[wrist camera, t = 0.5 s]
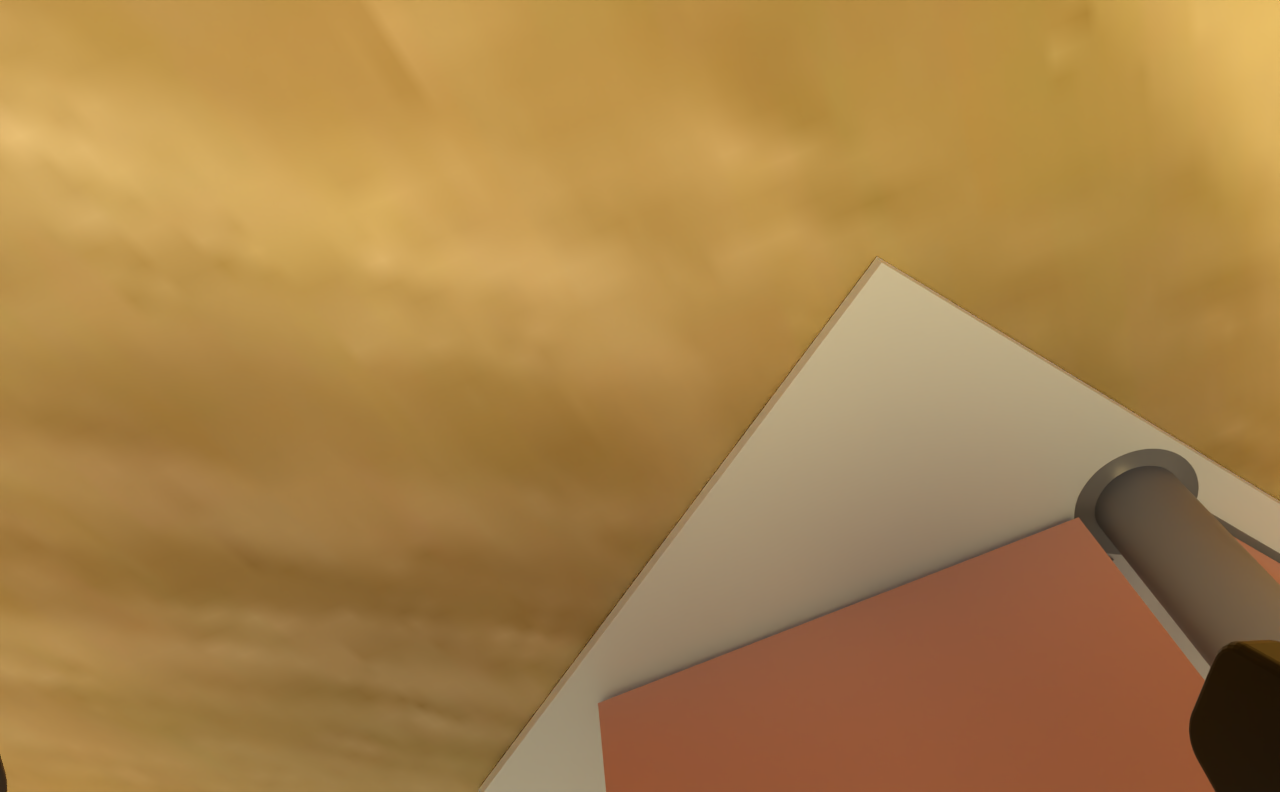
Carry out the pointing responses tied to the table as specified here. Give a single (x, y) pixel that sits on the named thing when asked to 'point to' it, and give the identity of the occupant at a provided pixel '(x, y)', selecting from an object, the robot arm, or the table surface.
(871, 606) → the fence panel
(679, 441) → the table surface
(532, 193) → the table surface
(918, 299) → the card
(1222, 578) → the fixed fence
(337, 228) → the table surface
